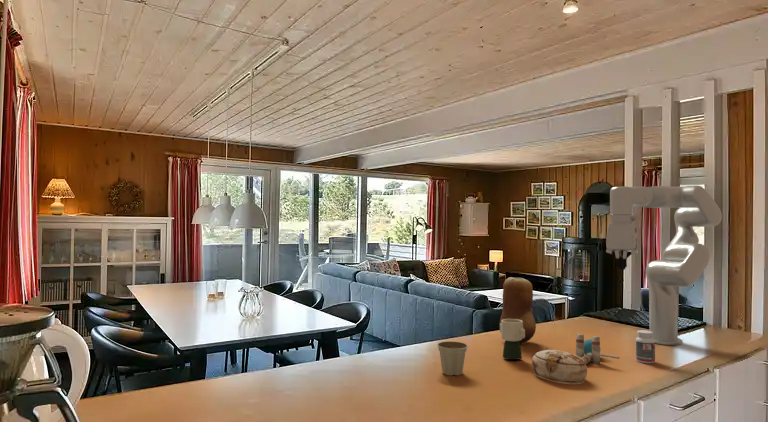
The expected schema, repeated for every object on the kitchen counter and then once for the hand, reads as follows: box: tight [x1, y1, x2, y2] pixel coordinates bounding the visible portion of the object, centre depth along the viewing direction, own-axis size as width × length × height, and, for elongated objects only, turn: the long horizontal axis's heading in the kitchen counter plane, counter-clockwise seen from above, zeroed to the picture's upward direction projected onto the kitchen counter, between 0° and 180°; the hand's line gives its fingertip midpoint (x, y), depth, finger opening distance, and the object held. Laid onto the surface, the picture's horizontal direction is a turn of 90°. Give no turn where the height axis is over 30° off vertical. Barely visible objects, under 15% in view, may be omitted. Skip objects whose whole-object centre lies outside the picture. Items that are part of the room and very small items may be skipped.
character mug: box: [499, 319, 525, 361], centre depth 166 cm, size 11×7×13 cm, turn 32°
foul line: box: [600, 353, 620, 359], centre depth 171 cm, size 1×14×1 cm, turn 52°
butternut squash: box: [498, 276, 537, 345], centre depth 189 cm, size 14×13×25 cm
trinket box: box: [531, 349, 588, 385], centre depth 146 cm, size 13×15×8 cm
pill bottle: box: [635, 329, 656, 364], centre depth 163 cm, size 6×6×10 cm
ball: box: [584, 338, 592, 356], centre depth 169 cm, size 6×6×6 cm
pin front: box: [581, 353, 592, 365], centre depth 161 cm, size 2×2×8 cm
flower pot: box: [436, 340, 469, 377], centre depth 150 cm, size 9×9×9 cm
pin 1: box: [575, 333, 585, 358], centre depth 165 cm, size 2×2×8 cm
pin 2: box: [591, 335, 601, 365], centre depth 161 cm, size 2×2×8 cm
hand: (621, 269), depth 181 cm, fingers closed
